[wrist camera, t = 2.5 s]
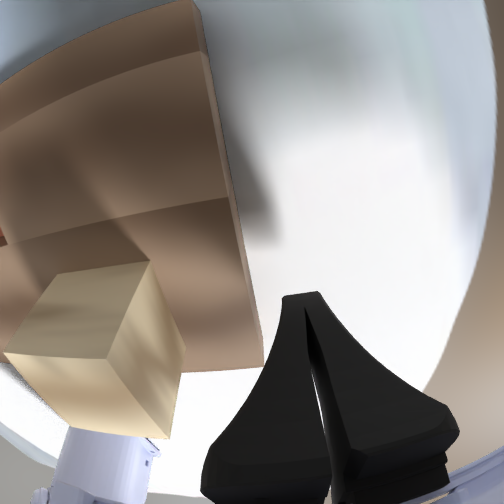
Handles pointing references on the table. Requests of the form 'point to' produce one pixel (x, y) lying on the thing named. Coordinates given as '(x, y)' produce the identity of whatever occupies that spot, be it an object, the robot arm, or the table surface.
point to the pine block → (104, 351)
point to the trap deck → (127, 180)
